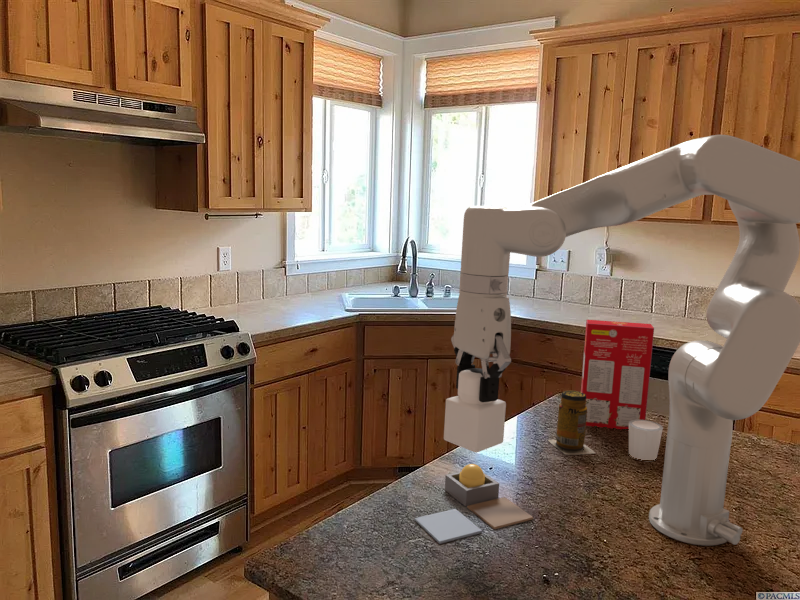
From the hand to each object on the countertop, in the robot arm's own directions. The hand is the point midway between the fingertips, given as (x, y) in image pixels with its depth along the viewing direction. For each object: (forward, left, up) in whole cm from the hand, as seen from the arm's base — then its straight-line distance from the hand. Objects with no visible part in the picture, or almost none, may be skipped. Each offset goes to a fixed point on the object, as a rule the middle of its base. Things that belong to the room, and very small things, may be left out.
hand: (476, 393), depth 104 cm
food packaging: (+25, -58, -22) cm, 66 cm away
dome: (+8, -6, -21) cm, 24 cm away
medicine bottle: (0, 0, -8) cm, 8 cm away
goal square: (0, +4, -22) cm, 23 cm away
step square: (0, -6, -22) cm, 23 cm away
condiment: (+18, -39, -22) cm, 48 cm away
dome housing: (+8, -6, -22) cm, 24 cm away
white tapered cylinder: (+8, -50, -22) cm, 55 cm away
